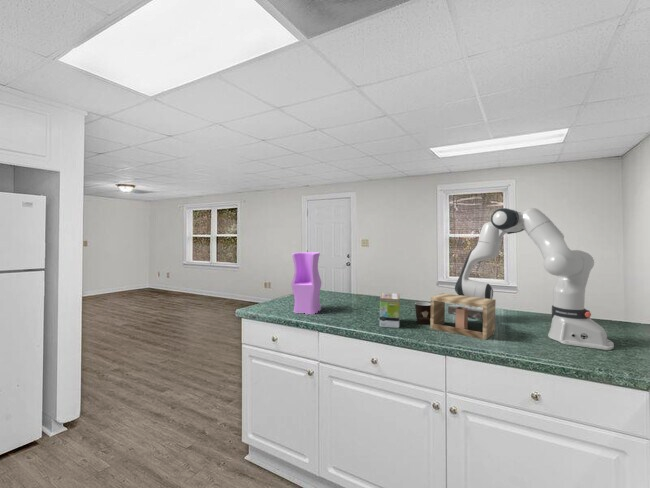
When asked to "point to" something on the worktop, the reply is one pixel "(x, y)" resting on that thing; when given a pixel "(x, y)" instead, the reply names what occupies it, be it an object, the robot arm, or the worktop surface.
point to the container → (306, 282)
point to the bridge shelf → (486, 304)
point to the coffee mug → (423, 312)
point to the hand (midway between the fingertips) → (464, 315)
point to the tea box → (389, 310)
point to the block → (461, 318)
